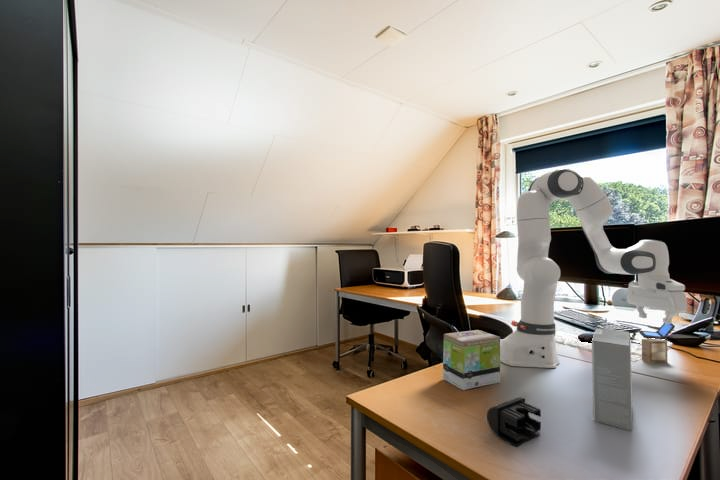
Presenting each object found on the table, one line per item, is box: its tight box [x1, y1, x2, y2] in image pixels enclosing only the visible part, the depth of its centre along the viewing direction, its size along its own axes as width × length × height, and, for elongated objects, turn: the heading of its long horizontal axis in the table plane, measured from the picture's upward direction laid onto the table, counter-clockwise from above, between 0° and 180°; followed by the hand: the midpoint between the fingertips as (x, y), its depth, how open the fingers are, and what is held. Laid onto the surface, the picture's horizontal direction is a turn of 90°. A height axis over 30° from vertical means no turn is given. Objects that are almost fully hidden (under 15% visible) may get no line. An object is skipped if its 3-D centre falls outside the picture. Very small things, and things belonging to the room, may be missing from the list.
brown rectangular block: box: [641, 338, 668, 364], centre depth 122 cm, size 7×3×8 cm, turn 94°
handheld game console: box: [638, 323, 676, 339], centre depth 156 cm, size 12×11×7 cm
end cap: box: [486, 396, 542, 448], centre depth 75 cm, size 10×7×7 cm
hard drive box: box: [591, 327, 633, 432], centre depth 84 cm, size 16×8×20 cm, turn 141°
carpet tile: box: [555, 327, 669, 363], centre depth 146 cm, size 39×30×2 cm
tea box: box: [442, 329, 501, 391], centre depth 104 cm, size 15×10×15 cm
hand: (654, 320), depth 122 cm, fingers open, 8 cm apart
